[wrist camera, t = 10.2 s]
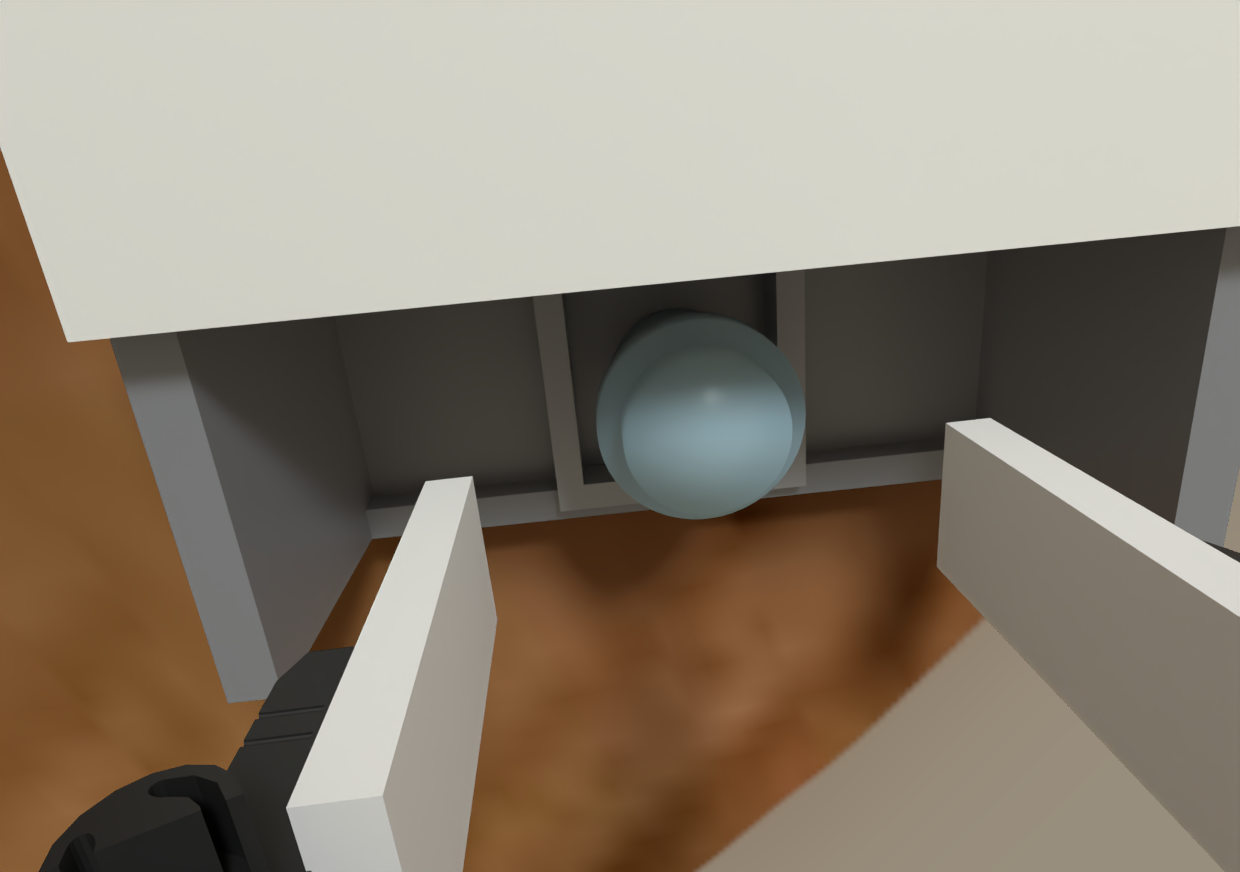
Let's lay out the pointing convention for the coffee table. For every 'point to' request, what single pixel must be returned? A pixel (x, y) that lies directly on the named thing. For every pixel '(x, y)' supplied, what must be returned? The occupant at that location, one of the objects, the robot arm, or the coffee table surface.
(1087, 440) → the housing
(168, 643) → the coffee table surface
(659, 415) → the peg
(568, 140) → the lid
